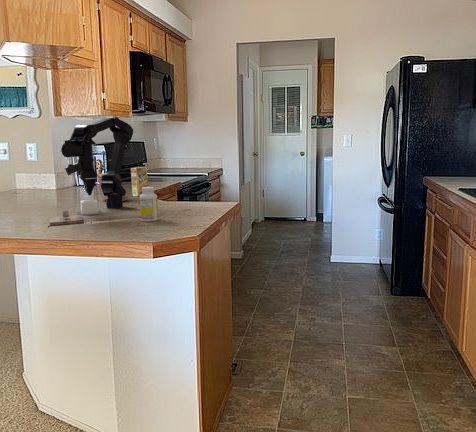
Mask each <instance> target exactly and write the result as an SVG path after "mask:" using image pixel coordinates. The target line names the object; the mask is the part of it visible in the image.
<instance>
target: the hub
mask: <svg viewBox="0 0 476 432" xmlns="http://www.w3.org/2000/svg"><path fill="white" fill-rule="evenodd" d="M69 213H70V212H69V211H68V210H67V209H65V210H63V211H62V216H55V217H54V216H52V217H48V220H49V221H48V222H49V227H60V226H71V225H73V226H75V225H82V224H83V225H84V224H85V222H84V218H83V216H81V215H78V214H77V215H69Z"/></svg>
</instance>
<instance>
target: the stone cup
mask: <svg viewBox="0 0 476 432" xmlns="http://www.w3.org/2000/svg"><path fill="white" fill-rule="evenodd" d="M107 173H108V172H105V173H100V174H97V179H98V181H99V182H98V183H99V185H100V186H101V183H100V182H101V180H102V176H103V175H106V174H107ZM116 194H117V193H116ZM102 199H103V200H105V201H106V199H107V196H104V195H103V197H102ZM128 199H129V196H127V195H125V196H122V201H123V202H124V201H127V200H128Z"/></svg>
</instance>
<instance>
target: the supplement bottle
mask: <svg viewBox="0 0 476 432" xmlns="http://www.w3.org/2000/svg"><path fill="white" fill-rule="evenodd" d="M158 207H159V206H158V195H157V194H156V193H155V187H154V186H148V187H143V188H142V194H141V195H140V196H139V208H140V209H139V210H140V211H139V212H140V220H141V221H142V222H147V223H149V222H156V221H158V220H159V209H158Z"/></svg>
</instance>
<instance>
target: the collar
mask: <svg viewBox="0 0 476 432" xmlns="http://www.w3.org/2000/svg"><path fill="white" fill-rule="evenodd" d="M79 202H80V212H81V213H82V215H83V216H87V215H86V214H96V215H99V214H98V213H99V212H98V211H99V201H98V200H97V199H88V200H87V199H86V200H84V199H83V200H80V201H79Z"/></svg>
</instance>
